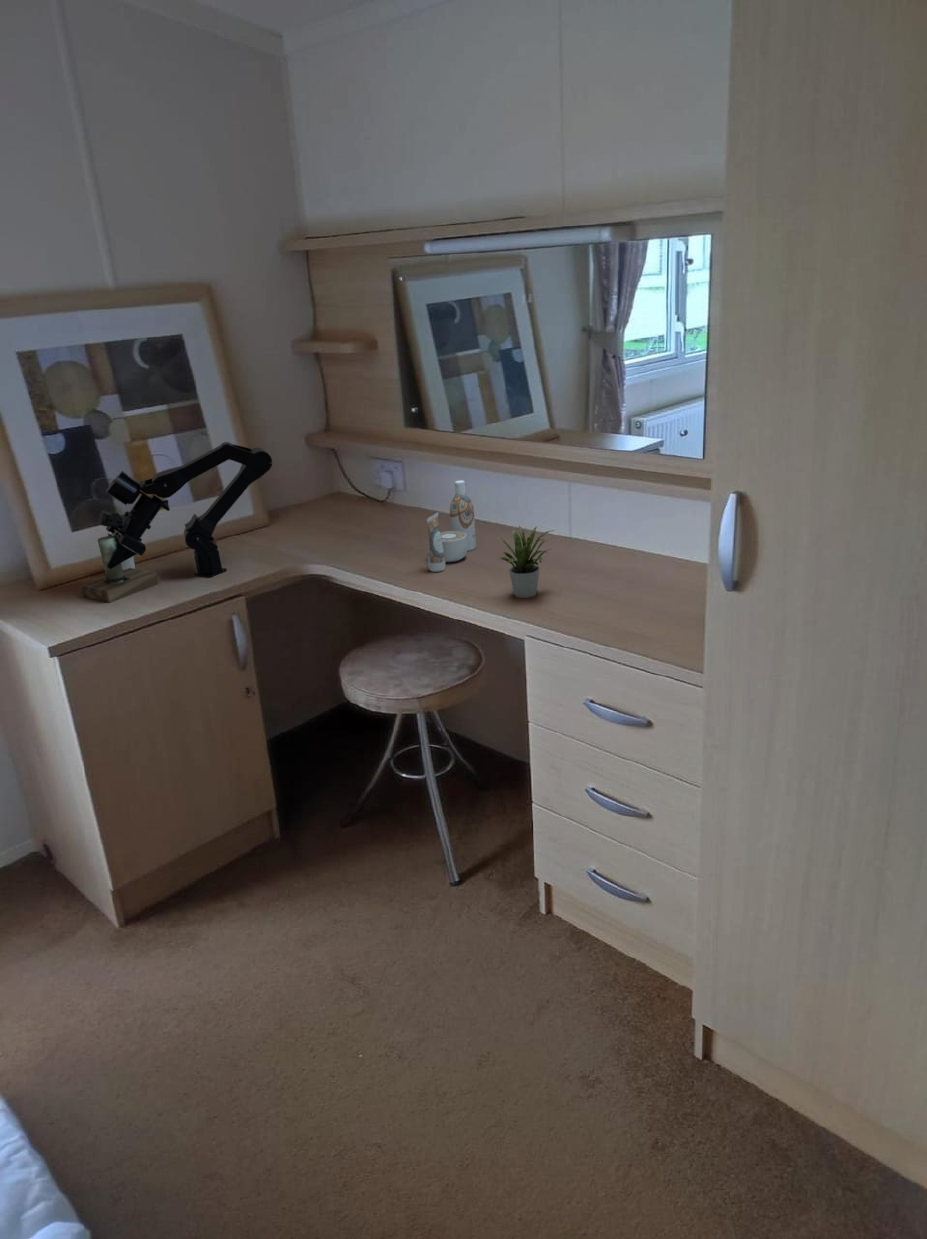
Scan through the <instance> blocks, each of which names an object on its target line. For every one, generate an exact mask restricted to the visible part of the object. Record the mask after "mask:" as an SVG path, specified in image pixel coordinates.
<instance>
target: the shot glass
mask: <svg viewBox="0 0 927 1239" xmlns="http://www.w3.org/2000/svg"><path fill="white" fill-rule="evenodd" d="M134 556H135V555H134ZM134 556H132V557H131V558H129V559H127V560H125V561H124V562H122V563H121V565H122V569H123V570H126V569H128V568H133V569H136V566H135V564H136V563H135V558H134Z"/></svg>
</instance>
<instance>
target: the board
mask: <svg viewBox="0 0 927 1239" xmlns="http://www.w3.org/2000/svg"><path fill="white" fill-rule="evenodd" d="M123 574H124V576H125V577H124V579H123V582H120V583H117V584H115V585H111V584H110V583H109V582H108V581H107V579H106V576H104V577H101V578H97V579H95V580H92V581H90V582H86V583H84V584H82V585H80V587H81V591H82V595H83V597H84V596H85V597H84V598H88V599H93V600H97V601H102V602H104V603H105V602H106V603H112V602H115V601H118V600H121V599H124V598H125V596H126V597H128V596H130V595H133V593H134V594H136V593H138V592H141V591H144V590H146V589H148V588H152V587H154V586H156V585H159V578H158V574H157V572H153V571H148V570H144V569H137V568H135V569H133V568H128V569H126V570H123ZM120 598H121V599H120Z"/></svg>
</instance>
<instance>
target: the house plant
mask: <svg viewBox="0 0 927 1239" xmlns="http://www.w3.org/2000/svg"><path fill="white" fill-rule="evenodd" d="M518 528H519V529H517V530H518V532H519V534H518V533H517V531H516V530H515V529H513V528H511V531H512V536H513V542H514V546H515V547H514V549H513V548H512V547H511V546H510V544H508V543H507V542H506V541H505V540H503V538H500V537H498V536H495V535H494V536H493V537H494V538H497V539H499V540H500V541H501V542H502V543H503V544H504V545H505V546H506V547H507V548H508V549H509V550H510V552H511V553H512V554H513V555H511V554H510V553H508V551H506V550H502V549H501V551H502V553H504V555H505V556H506V557H505V556H501V557H498V559H499V560H502V561H505V562H507V563H510V564H511V565H512V566H510V567H509V569H508V571H509V577H510V580H511V586H512V590H513V594H514V597H516V598H521V599H529V598H532V597H535V596H536V595H537V591H538V585H539V583H538V582H539V576H540V567H539V562H540V563H541V562H542V560H543V557H542V555H544V554H545V553H546V554H548V551H549V550H551V548H546V549H544V550H539V549H540V548H541V546H543V544H544V543H545V542H548V541H549V540H552V539H553V538H551V537H550V538H546V539H542V538H543V537H544V536H546V535H547V534H548V533H550V532H554V531H556V529H555V530H554V529H551V530H548V531H545V532H542V534H541V535H539V536H538V537H537V538H536V540H535V542H533V541H534V539H535V536H536V532H537V531H536V530H537V528H538V527H537V526H535V527H533V529H532V530H531V533H530V535H529V536H528V537H527V538H526V535H525V532H524V530H523V528H522V527H521V526H520V525H518ZM539 541H540V544H539ZM541 541H542V542H541ZM533 543H534V544H533ZM537 544H539V545H538V546H537ZM535 547H537V549H535ZM534 549H535V552H534V553H533V551H534ZM552 549H554V548H553V547H552ZM538 554H539V555H538ZM537 555H538V557H537V558H535V557H536V556H537ZM513 556H514V557H513ZM515 558H516V559H515ZM537 561H538V562H537Z"/></svg>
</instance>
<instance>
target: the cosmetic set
mask: <svg viewBox="0 0 927 1239" xmlns="http://www.w3.org/2000/svg"><path fill="white" fill-rule="evenodd" d="M454 490H455V491H454V492H455V494H454V496H453V498H452V500H451V502H450V506H449V516H450V530H447V531H446V530H445V531H441V530H440V524H439V512H438V511H437V512H436V513H434V514H433V515H431V516H429V517H428V518H427V519H426V523H427V568H428V570H429V571H430V572H433V573H437V572H438V573H439V572H442V571H444V570H445V569H446V563H455V562H457V561H460V560H462V559H463V558H464V557H465V556H466V554H467V552H470V551H474V550H475V549H476V548H477V538H476V536H477V535H476V522H475V521H476V520H475V509H474V508H475V507H474V504H473V502H472V500H471V498H470V497H469V496H468V495H467V492H466V482H465V480H455V481H454Z"/></svg>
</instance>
